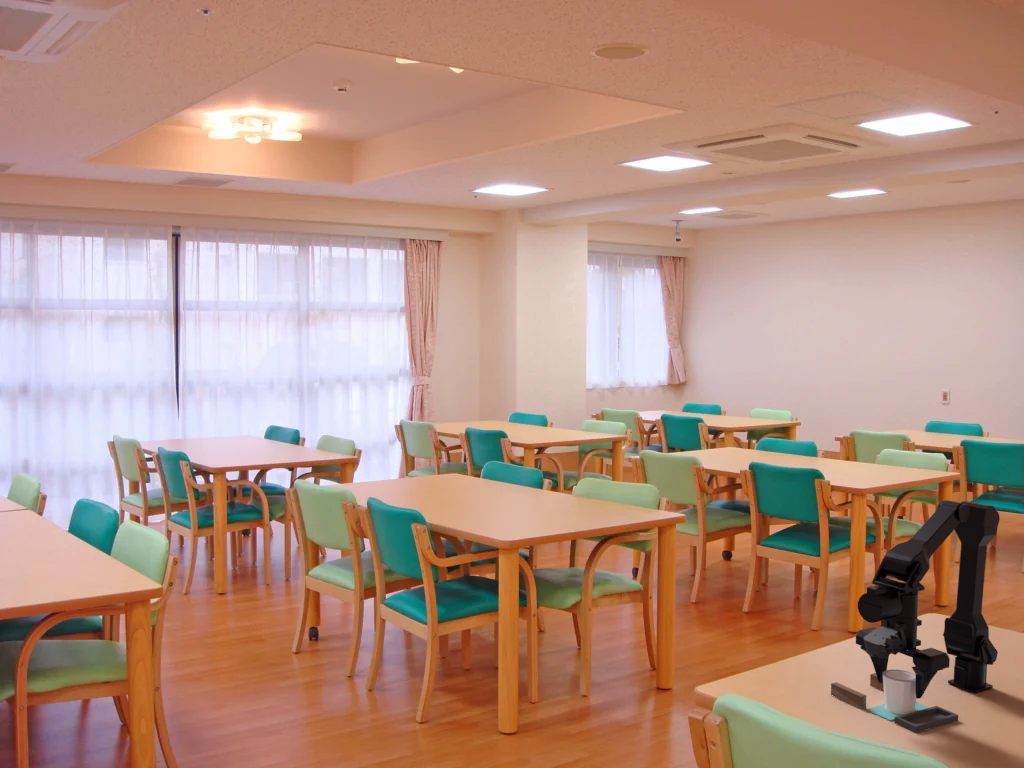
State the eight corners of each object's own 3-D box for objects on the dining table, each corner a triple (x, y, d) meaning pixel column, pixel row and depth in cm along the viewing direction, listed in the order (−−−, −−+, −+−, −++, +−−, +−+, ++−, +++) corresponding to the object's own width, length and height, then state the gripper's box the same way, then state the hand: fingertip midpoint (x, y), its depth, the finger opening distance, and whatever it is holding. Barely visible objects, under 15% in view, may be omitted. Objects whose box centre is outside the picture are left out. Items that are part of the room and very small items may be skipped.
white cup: (921, 717, 193) (922, 682, 193) (884, 714, 194) (885, 680, 194) (913, 703, 200) (915, 670, 199) (878, 701, 201) (879, 667, 201)
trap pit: (936, 711, 196) (936, 705, 196) (958, 720, 192) (958, 714, 192) (894, 723, 191) (894, 717, 191) (915, 732, 186) (915, 726, 186)
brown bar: (875, 684, 211) (875, 673, 210) (905, 697, 204) (905, 685, 203) (830, 695, 205) (831, 683, 204) (860, 708, 198) (861, 696, 197)
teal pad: (907, 699, 202) (907, 698, 202) (932, 709, 197) (932, 708, 197) (866, 710, 197) (866, 709, 197) (890, 721, 192) (890, 720, 192)
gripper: (837, 607, 200) (835, 681, 201) (912, 633, 184) (909, 714, 185) (876, 599, 205) (873, 672, 206) (952, 625, 189) (949, 703, 190)
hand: (899, 690), depth 197 cm, fingers open, 9 cm apart
